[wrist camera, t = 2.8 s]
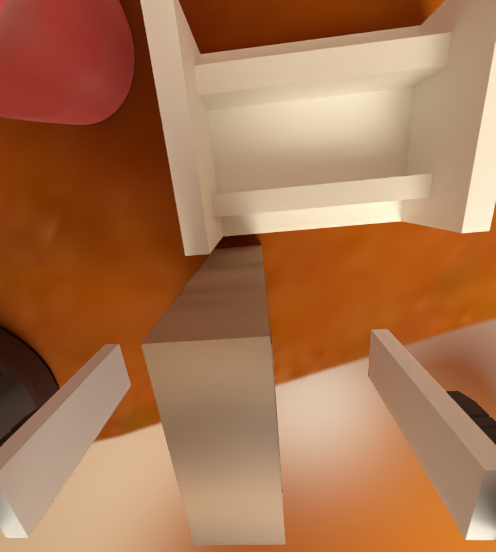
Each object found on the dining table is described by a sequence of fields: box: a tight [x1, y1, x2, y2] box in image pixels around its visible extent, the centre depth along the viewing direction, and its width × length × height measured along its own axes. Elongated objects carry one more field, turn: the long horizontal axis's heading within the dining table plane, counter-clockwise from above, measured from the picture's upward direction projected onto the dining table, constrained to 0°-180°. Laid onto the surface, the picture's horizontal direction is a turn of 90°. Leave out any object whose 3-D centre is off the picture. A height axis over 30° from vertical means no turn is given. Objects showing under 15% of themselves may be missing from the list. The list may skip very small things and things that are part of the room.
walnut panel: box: [141, 245, 285, 545], centre depth 14 cm, size 9×4×12 cm, turn 5°
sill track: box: [140, 0, 496, 256], centre depth 13 cm, size 14×10×6 cm
